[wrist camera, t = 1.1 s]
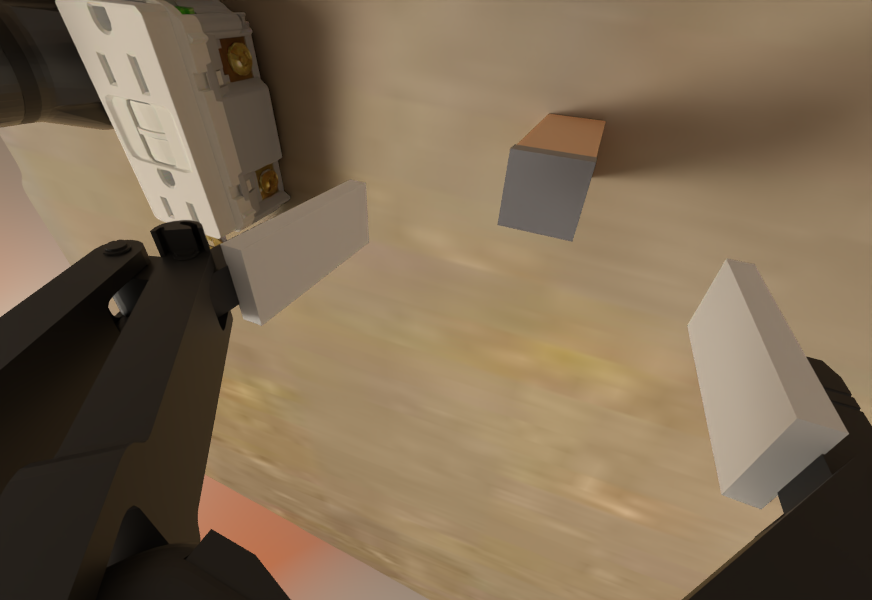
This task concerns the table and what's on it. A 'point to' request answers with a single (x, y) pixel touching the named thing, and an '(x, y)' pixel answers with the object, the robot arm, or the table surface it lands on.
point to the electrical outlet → (184, 106)
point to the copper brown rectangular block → (550, 176)
